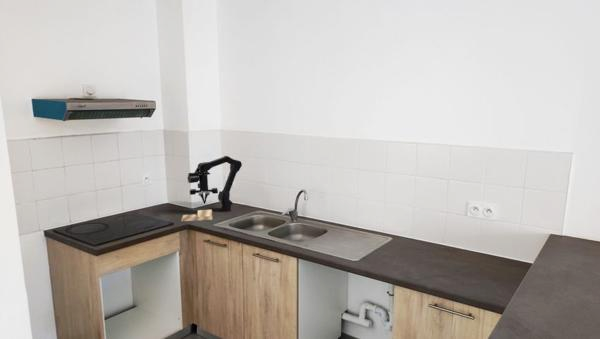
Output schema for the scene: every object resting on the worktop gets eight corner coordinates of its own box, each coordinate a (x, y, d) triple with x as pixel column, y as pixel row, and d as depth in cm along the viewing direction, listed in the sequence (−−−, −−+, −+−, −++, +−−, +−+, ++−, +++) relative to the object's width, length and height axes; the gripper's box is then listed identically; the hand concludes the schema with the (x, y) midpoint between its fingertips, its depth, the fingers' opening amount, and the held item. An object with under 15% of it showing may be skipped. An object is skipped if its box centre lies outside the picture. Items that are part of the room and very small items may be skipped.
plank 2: (211, 210, 290) (211, 209, 290) (212, 217, 285) (211, 216, 284) (197, 211, 288) (197, 210, 288) (197, 218, 283) (197, 216, 282)
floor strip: (212, 217, 284) (212, 216, 284) (212, 221, 276) (212, 219, 276) (182, 219, 280) (182, 217, 280) (181, 223, 272) (181, 221, 272)
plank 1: (197, 215, 289) (197, 214, 289) (197, 218, 282) (196, 216, 282) (183, 216, 287) (183, 215, 287) (182, 219, 280) (182, 217, 280)
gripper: (217, 178, 294) (218, 199, 297) (190, 179, 290) (191, 201, 293) (217, 181, 283) (218, 203, 286) (189, 182, 280) (190, 205, 282)
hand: (204, 203), depth 287 cm, fingers closed
